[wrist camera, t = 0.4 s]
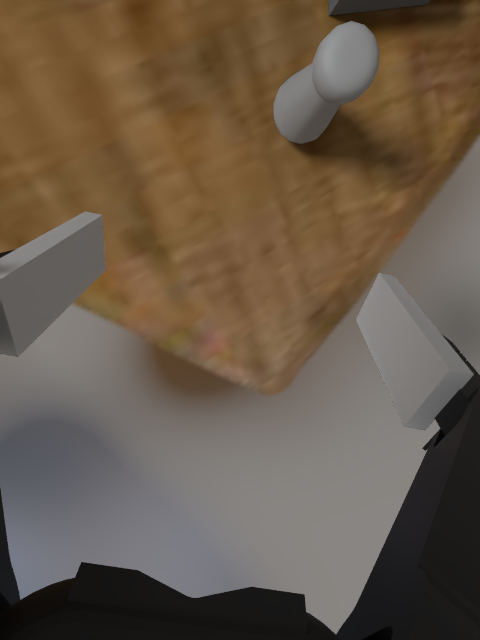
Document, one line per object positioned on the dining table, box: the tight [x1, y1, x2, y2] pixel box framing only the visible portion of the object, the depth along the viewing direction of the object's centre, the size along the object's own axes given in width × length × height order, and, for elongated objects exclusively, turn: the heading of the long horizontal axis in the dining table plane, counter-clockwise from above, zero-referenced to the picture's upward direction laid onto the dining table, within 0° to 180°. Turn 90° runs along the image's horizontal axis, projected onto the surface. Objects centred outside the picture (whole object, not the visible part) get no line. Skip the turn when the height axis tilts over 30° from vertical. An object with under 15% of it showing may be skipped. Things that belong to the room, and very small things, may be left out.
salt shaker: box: [273, 21, 379, 144], centre depth 26 cm, size 6×6×13 cm
